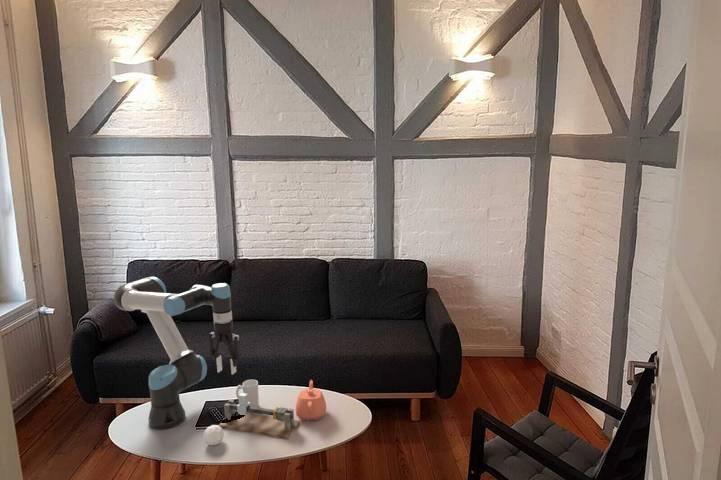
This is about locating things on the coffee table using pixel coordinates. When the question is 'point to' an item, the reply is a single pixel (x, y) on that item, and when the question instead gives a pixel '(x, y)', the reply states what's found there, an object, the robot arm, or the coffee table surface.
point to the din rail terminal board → (262, 421)
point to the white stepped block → (243, 404)
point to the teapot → (310, 404)
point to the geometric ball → (213, 434)
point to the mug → (250, 391)
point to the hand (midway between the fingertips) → (226, 371)
